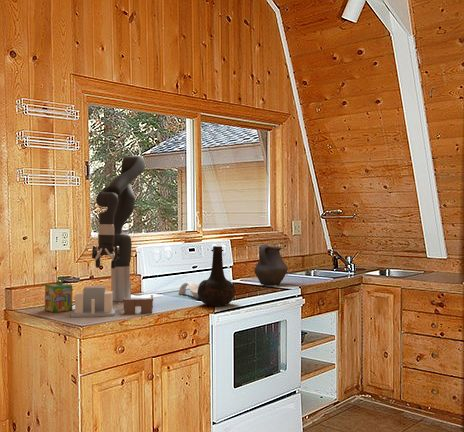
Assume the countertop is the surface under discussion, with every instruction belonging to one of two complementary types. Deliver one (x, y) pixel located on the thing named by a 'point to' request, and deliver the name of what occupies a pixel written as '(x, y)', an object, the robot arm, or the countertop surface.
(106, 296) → the display stand
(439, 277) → the countertop surface
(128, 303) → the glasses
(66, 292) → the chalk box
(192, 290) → the spoon rest
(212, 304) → the glass bottle
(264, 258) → the pitcher
